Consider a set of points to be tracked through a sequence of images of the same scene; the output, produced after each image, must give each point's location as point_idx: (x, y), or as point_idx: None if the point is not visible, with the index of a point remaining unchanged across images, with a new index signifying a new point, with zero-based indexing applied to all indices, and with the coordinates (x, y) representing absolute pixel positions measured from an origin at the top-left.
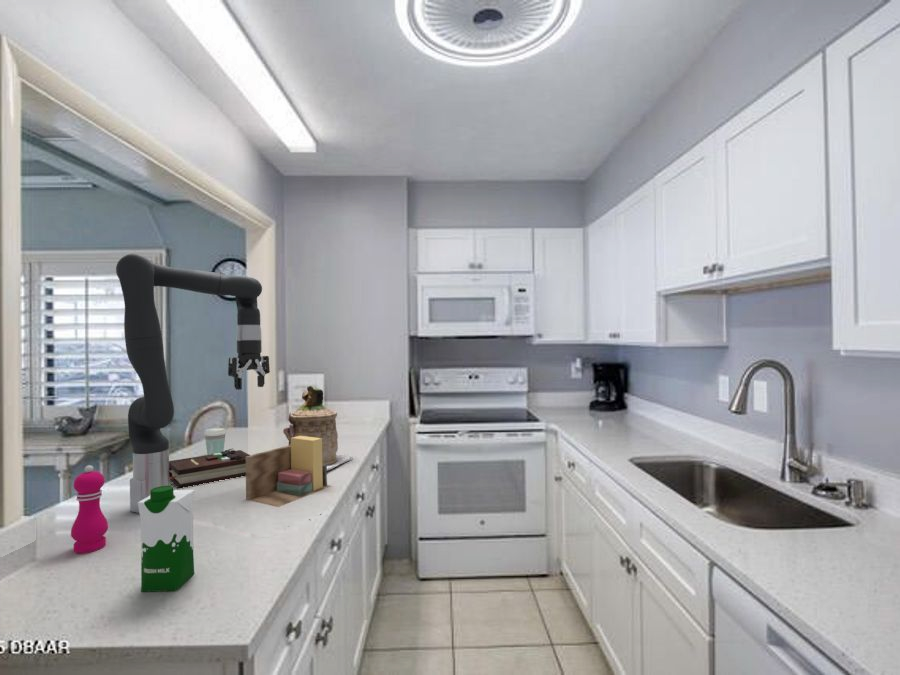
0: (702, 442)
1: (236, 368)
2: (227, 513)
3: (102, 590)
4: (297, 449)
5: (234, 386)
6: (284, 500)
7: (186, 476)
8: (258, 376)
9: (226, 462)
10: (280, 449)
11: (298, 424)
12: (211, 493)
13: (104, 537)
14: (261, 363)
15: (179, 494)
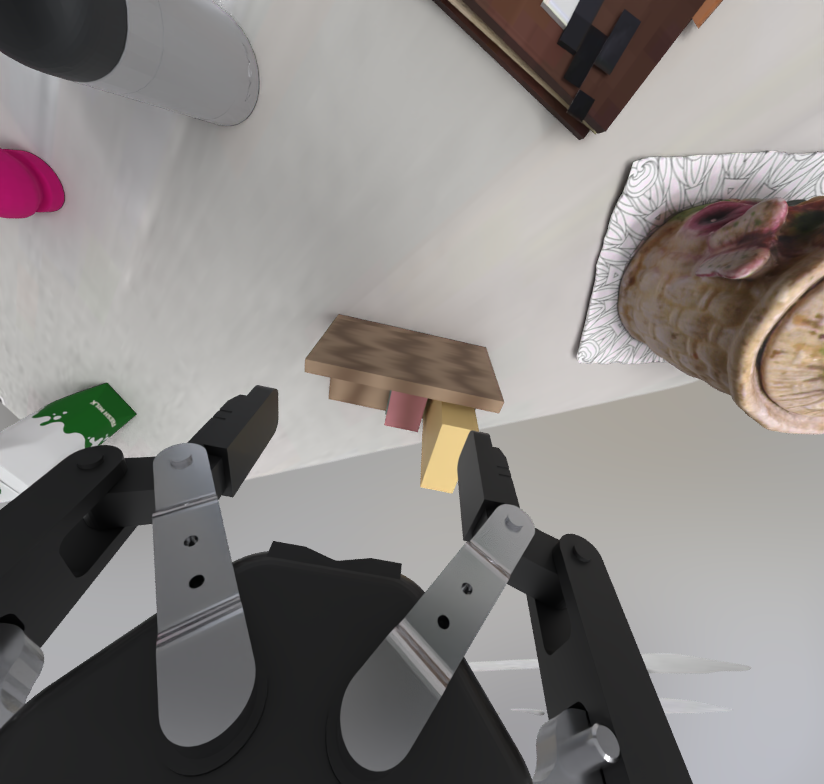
0: (714, 711)
1: (83, 591)
2: (286, 312)
3: (40, 348)
4: (435, 425)
5: (228, 401)
6: (358, 391)
7: None
8: (479, 504)
9: (523, 49)
10: (412, 394)
11: (741, 304)
12: (373, 152)
13: (48, 199)
14: (596, 677)
15: (8, 491)
